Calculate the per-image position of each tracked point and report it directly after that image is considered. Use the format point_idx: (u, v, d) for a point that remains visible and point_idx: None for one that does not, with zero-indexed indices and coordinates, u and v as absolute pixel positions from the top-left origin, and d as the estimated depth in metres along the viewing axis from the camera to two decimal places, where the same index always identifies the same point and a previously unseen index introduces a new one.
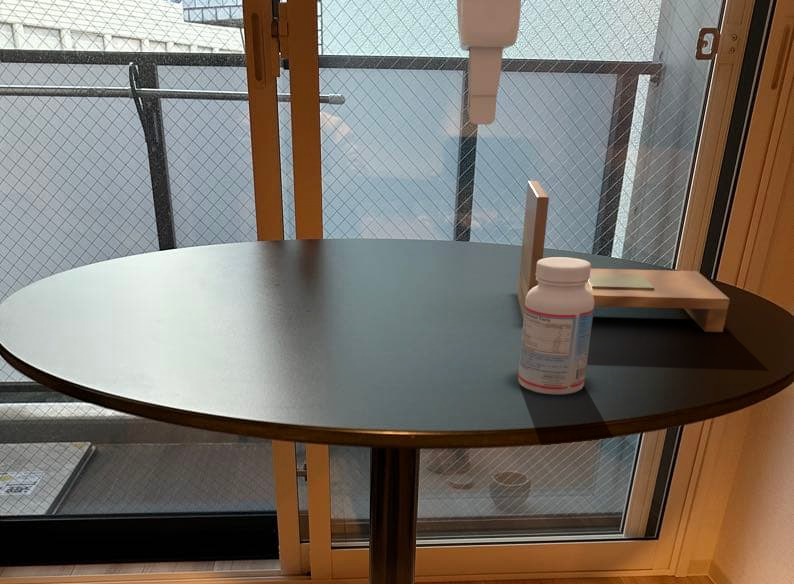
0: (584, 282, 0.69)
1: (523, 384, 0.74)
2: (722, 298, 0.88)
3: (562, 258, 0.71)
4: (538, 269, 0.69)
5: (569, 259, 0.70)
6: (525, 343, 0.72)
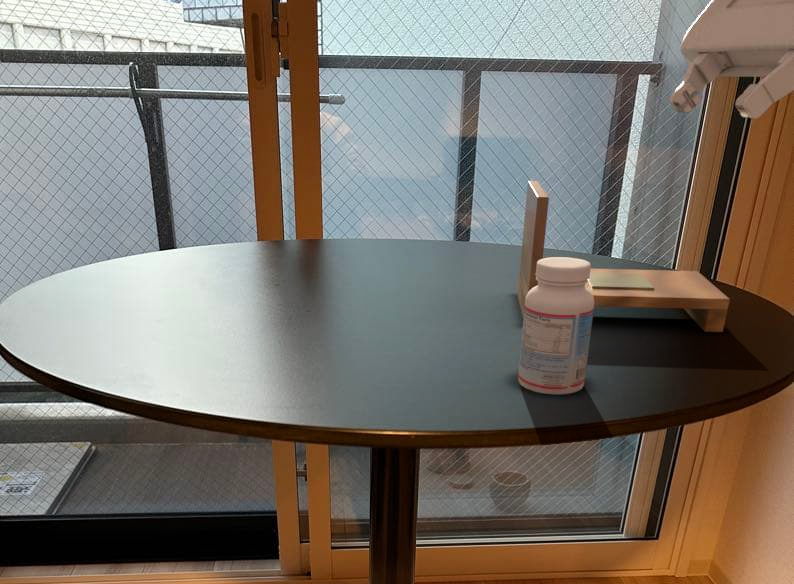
0: (584, 282, 0.69)
1: (523, 384, 0.74)
2: (722, 298, 0.88)
3: (562, 258, 0.71)
4: (538, 269, 0.69)
5: (569, 259, 0.70)
6: (525, 343, 0.72)
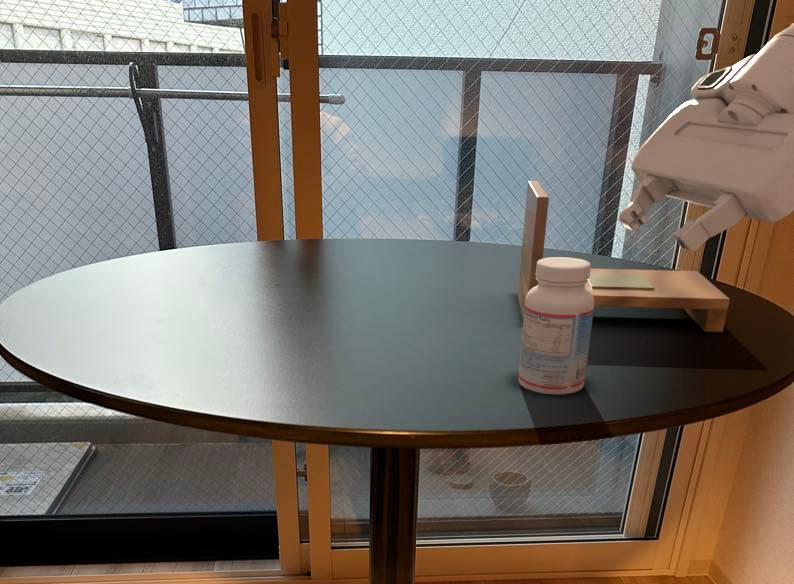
0: (584, 282, 0.69)
1: (523, 384, 0.74)
2: (722, 298, 0.88)
3: (562, 258, 0.71)
4: (538, 269, 0.69)
5: (569, 259, 0.70)
6: (525, 343, 0.72)
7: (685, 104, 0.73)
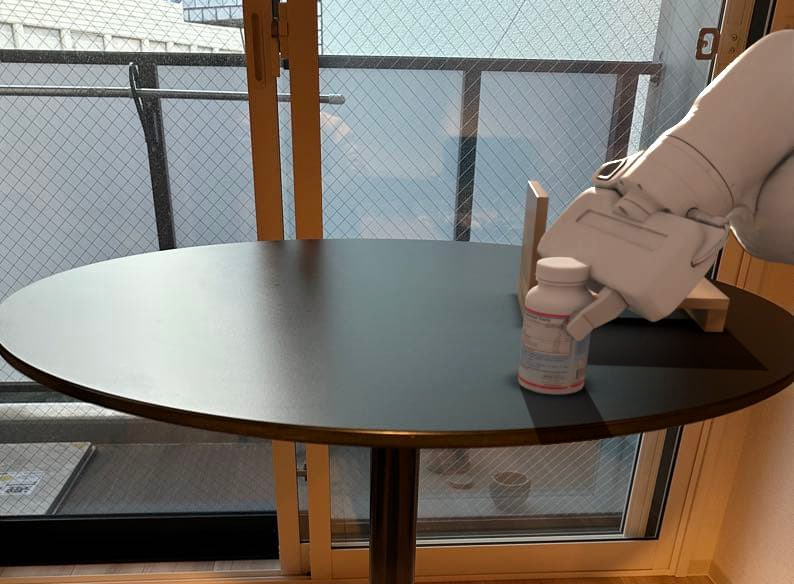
0: (584, 282, 0.69)
1: (523, 384, 0.74)
2: (722, 298, 0.88)
3: (562, 258, 0.71)
4: (538, 269, 0.69)
5: (569, 259, 0.70)
6: (525, 343, 0.72)
7: (586, 191, 0.75)
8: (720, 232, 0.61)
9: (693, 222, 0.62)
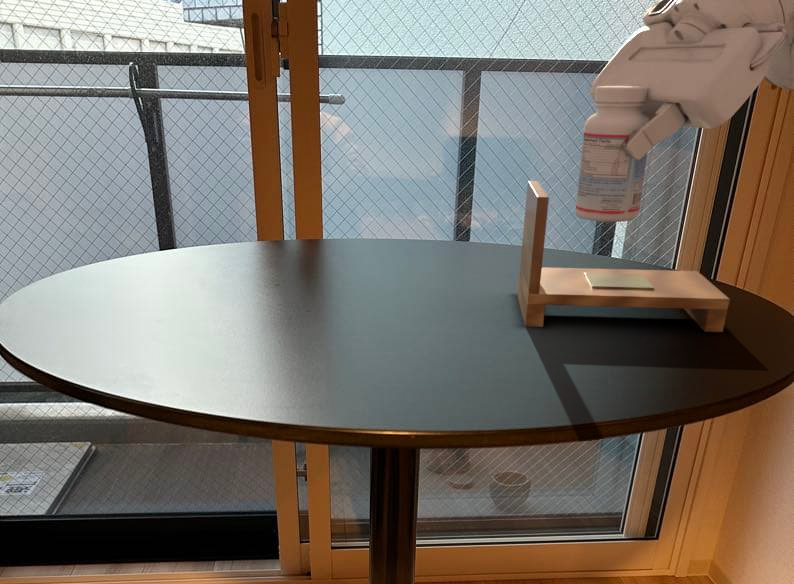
0: (642, 104, 0.72)
1: (581, 213, 0.77)
2: (722, 298, 0.88)
3: (619, 86, 0.74)
4: (598, 93, 0.73)
5: (626, 86, 0.74)
6: (584, 170, 0.76)
7: (638, 31, 0.79)
8: (777, 34, 0.65)
9: (751, 28, 0.66)
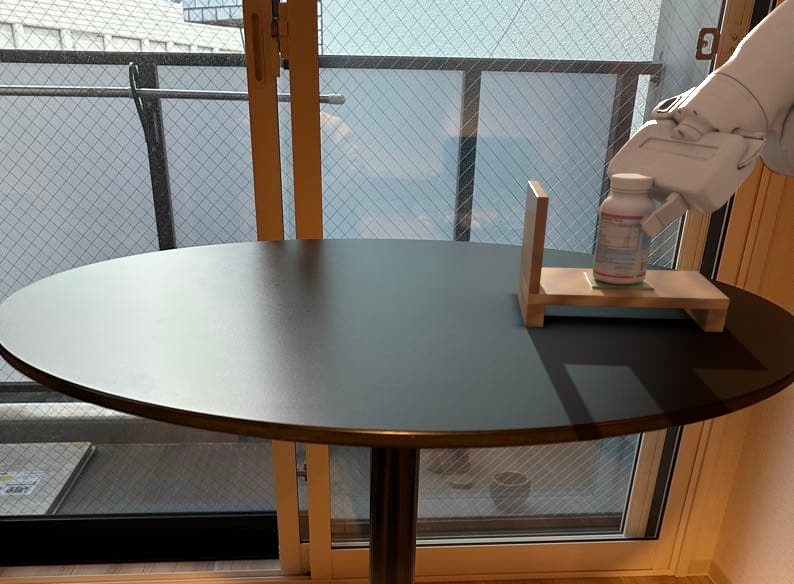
0: (649, 190, 0.88)
1: (597, 276, 0.93)
2: (722, 298, 0.88)
3: (630, 174, 0.90)
4: (613, 181, 0.89)
5: (636, 174, 0.90)
6: (600, 242, 0.92)
7: (647, 123, 0.94)
8: (760, 142, 0.80)
9: (739, 135, 0.81)
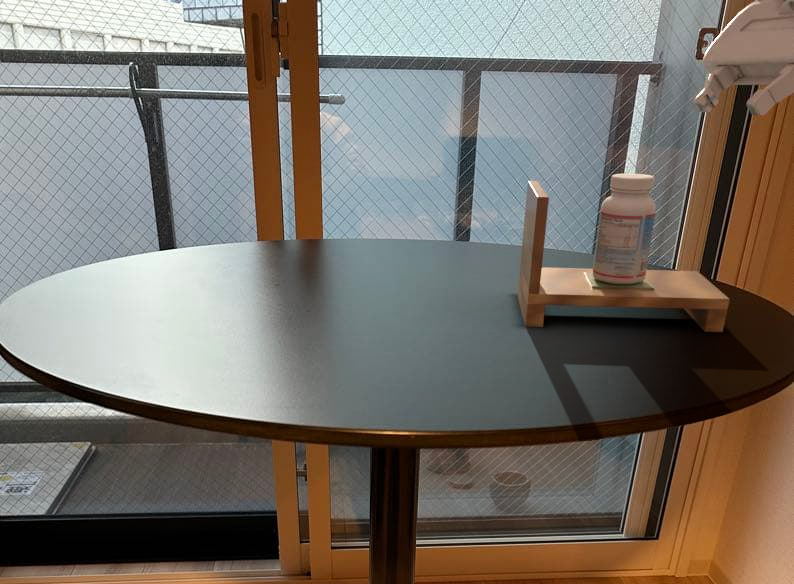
0: (649, 190, 0.88)
1: (597, 276, 0.93)
2: (722, 298, 0.88)
3: (630, 174, 0.90)
4: (613, 181, 0.89)
5: (636, 174, 0.90)
6: (600, 242, 0.92)
7: (748, 6, 0.88)
8: None
9: None
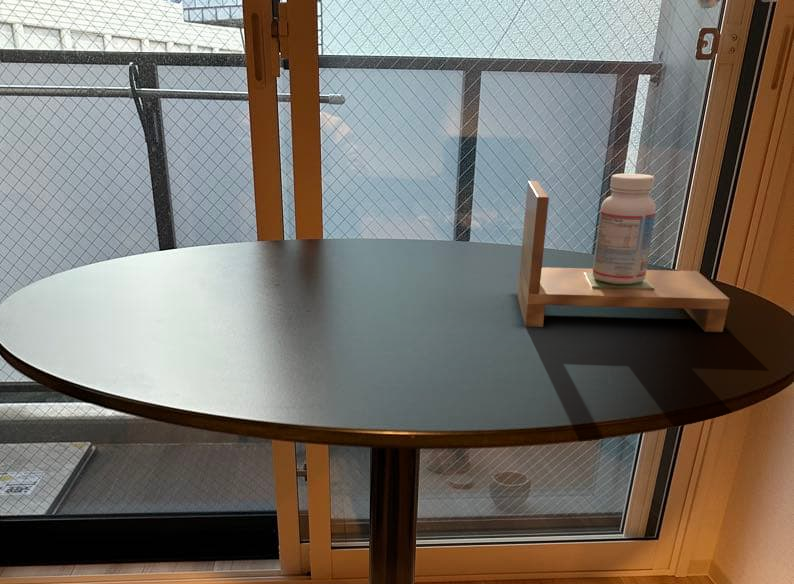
0: (649, 190, 0.88)
1: (597, 276, 0.93)
2: (722, 298, 0.88)
3: (630, 174, 0.90)
4: (613, 181, 0.89)
5: (636, 174, 0.90)
6: (600, 242, 0.92)
7: None
8: None
9: None
